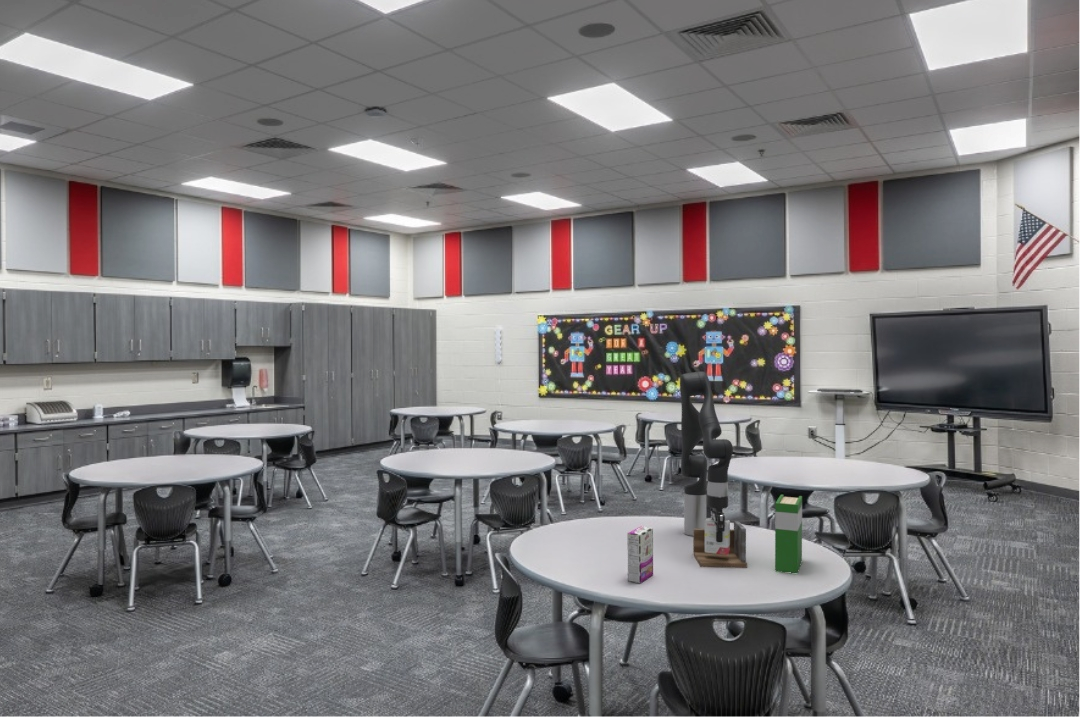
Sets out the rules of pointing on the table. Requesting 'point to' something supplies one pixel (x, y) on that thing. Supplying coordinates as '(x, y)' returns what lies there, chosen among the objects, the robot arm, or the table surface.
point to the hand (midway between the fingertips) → (717, 539)
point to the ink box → (710, 538)
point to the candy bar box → (640, 554)
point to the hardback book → (788, 534)
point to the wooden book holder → (732, 560)
